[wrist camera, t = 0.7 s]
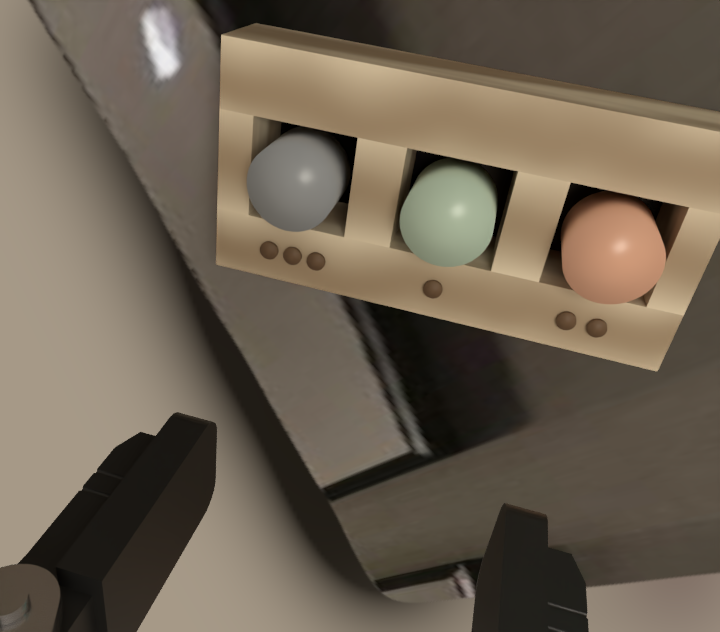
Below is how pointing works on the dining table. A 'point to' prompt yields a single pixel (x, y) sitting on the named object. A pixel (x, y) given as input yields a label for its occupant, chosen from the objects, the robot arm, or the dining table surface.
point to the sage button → (450, 212)
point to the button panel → (476, 144)
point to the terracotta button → (611, 248)
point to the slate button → (298, 178)
